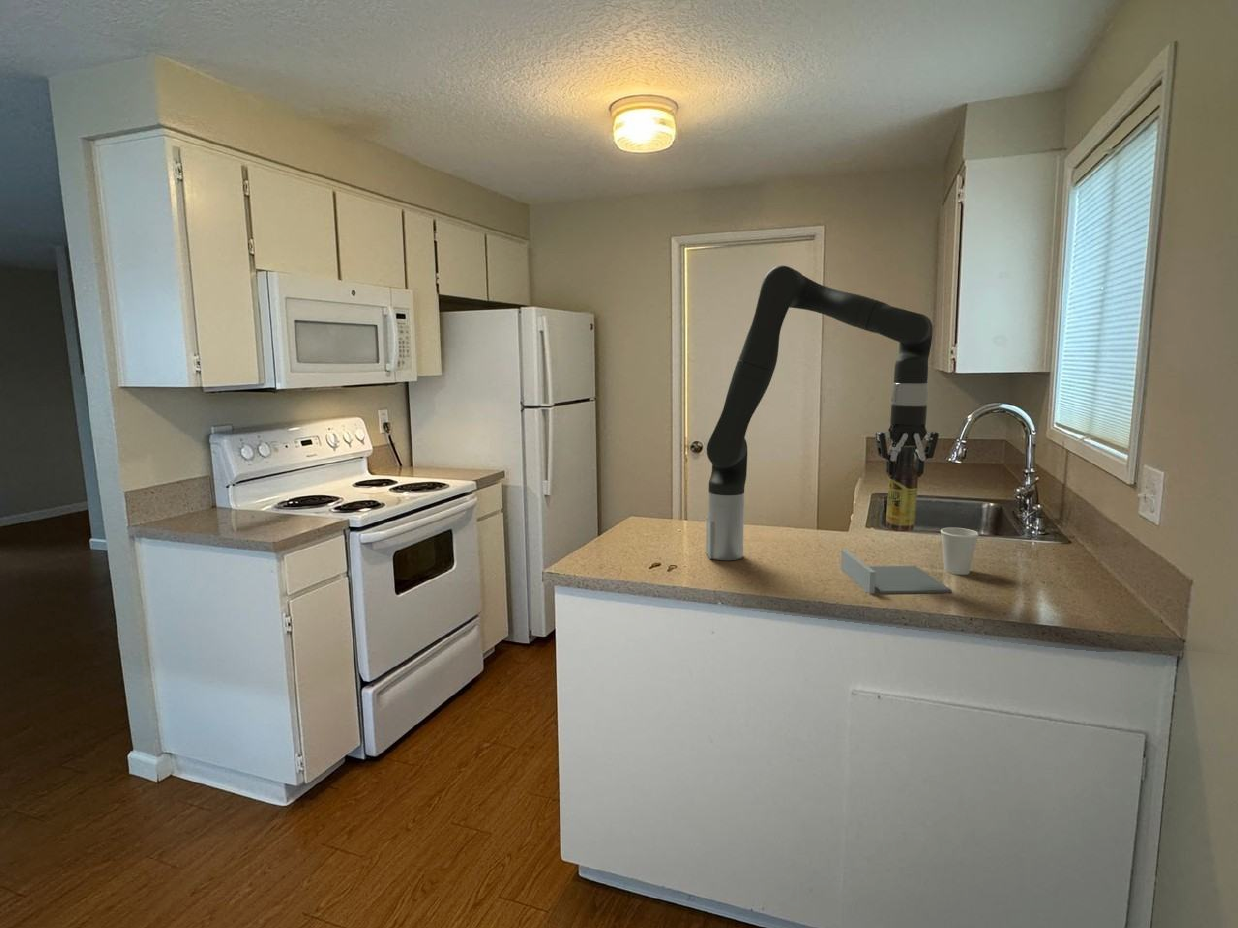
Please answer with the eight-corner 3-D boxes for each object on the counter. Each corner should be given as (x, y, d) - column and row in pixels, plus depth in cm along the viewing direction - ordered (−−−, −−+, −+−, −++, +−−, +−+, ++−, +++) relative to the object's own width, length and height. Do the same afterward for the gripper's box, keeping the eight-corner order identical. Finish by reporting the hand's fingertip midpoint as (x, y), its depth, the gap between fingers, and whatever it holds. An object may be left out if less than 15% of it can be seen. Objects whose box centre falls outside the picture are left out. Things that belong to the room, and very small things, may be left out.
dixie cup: (973, 567, 176) (976, 528, 174) (978, 578, 168) (981, 537, 166) (936, 564, 178) (939, 526, 177) (939, 574, 170) (942, 534, 169)
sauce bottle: (880, 526, 168) (885, 443, 164) (906, 525, 168) (911, 442, 165) (893, 533, 161) (898, 446, 158) (920, 532, 162) (925, 446, 158)
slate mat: (880, 593, 157) (880, 591, 157) (851, 569, 175) (851, 566, 175) (951, 592, 158) (951, 589, 158) (914, 568, 176) (915, 565, 176)
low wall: (869, 593, 157) (870, 572, 156) (840, 569, 175) (841, 549, 174) (874, 593, 157) (875, 572, 156) (845, 569, 175) (846, 549, 174)
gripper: (884, 404, 156) (880, 480, 159) (948, 404, 157) (943, 479, 159) (871, 402, 163) (867, 474, 166) (932, 401, 164) (927, 473, 167)
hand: (904, 476), depth 163 cm, fingers closed on sauce bottle, 5 cm apart
